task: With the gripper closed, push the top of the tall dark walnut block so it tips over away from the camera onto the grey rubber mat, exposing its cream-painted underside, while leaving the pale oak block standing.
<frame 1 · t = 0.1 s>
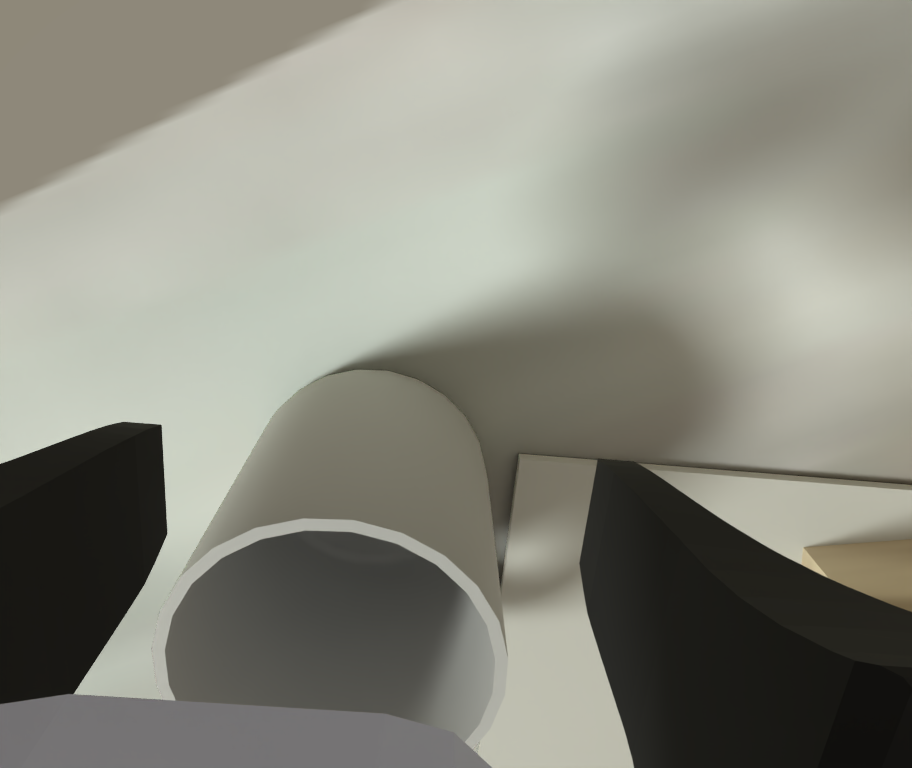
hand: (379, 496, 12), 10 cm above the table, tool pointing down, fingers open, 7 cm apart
oak block: (857, 593, 24), resting on mat
mat: (705, 693, 26), on the table
cup: (389, 502, 24), on the table
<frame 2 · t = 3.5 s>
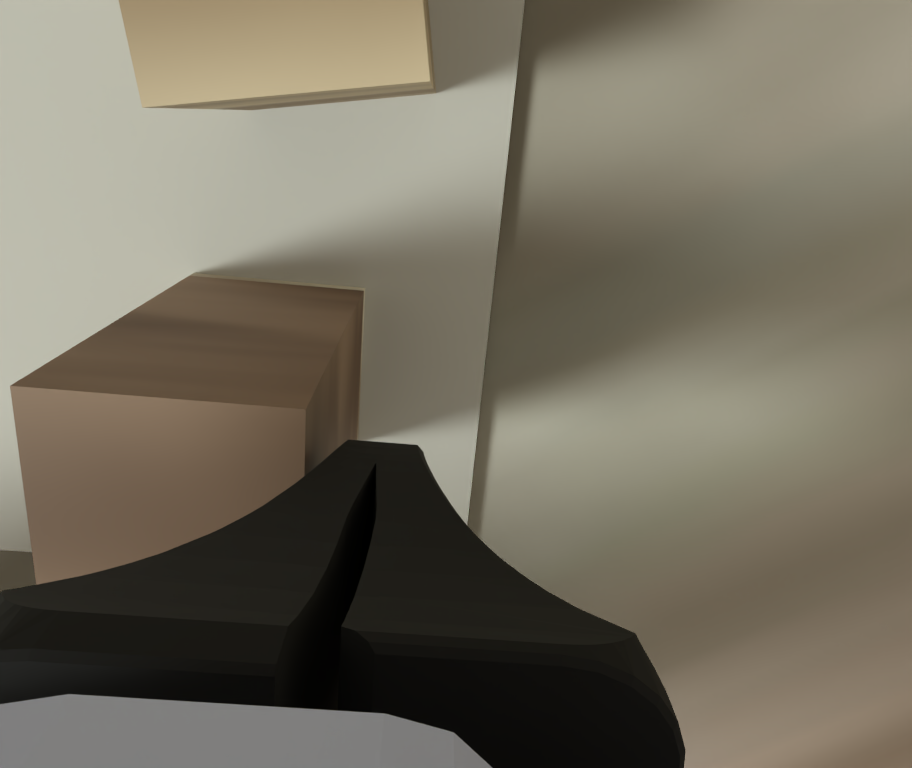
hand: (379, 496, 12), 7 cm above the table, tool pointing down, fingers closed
walnut block: (279, 361, 18), resting on mat, touching gripper
mat: (154, 223, 17), on the table
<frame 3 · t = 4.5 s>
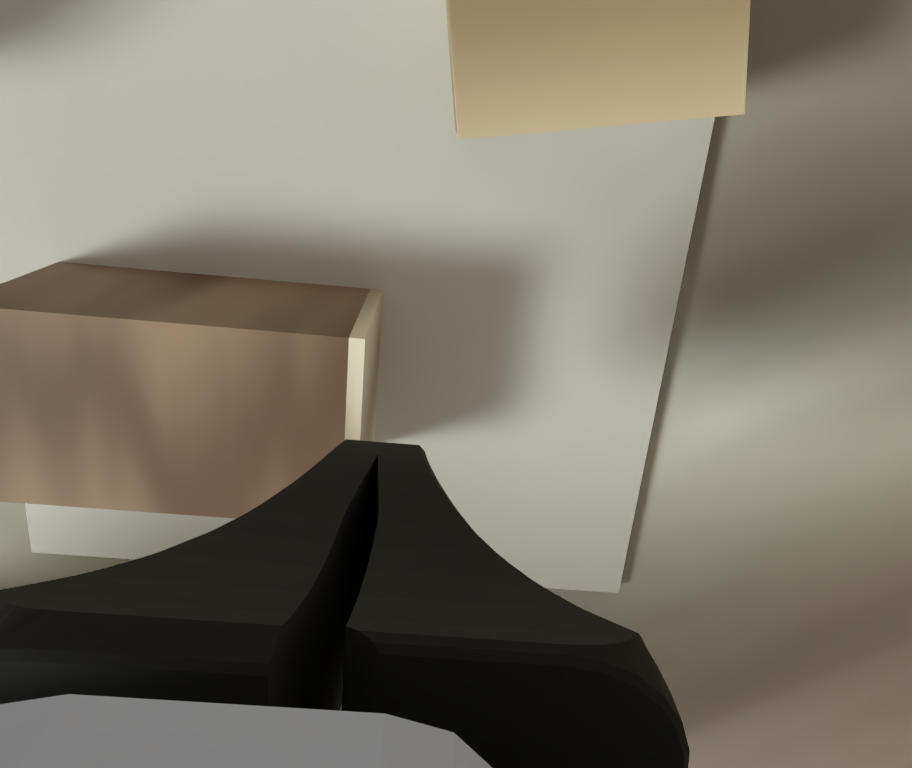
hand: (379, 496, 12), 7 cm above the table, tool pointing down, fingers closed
oak block: (542, 21, 15), resting on mat
walnut block: (370, 399, 16), point 2 cm above the table, tilted 90°, touching mat
mat: (344, 240, 17), on the table
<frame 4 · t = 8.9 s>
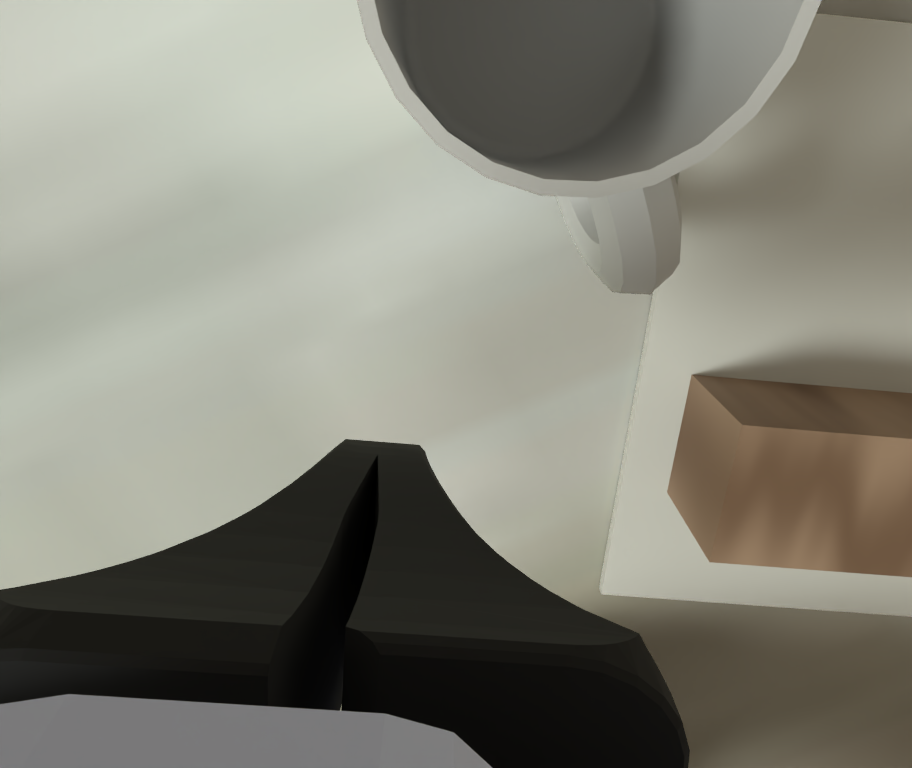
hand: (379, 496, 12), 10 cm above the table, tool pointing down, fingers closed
mat: (901, 357, 22), on the table
cup: (543, 83, 20), on the table
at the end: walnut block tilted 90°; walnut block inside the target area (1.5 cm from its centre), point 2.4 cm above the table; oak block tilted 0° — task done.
